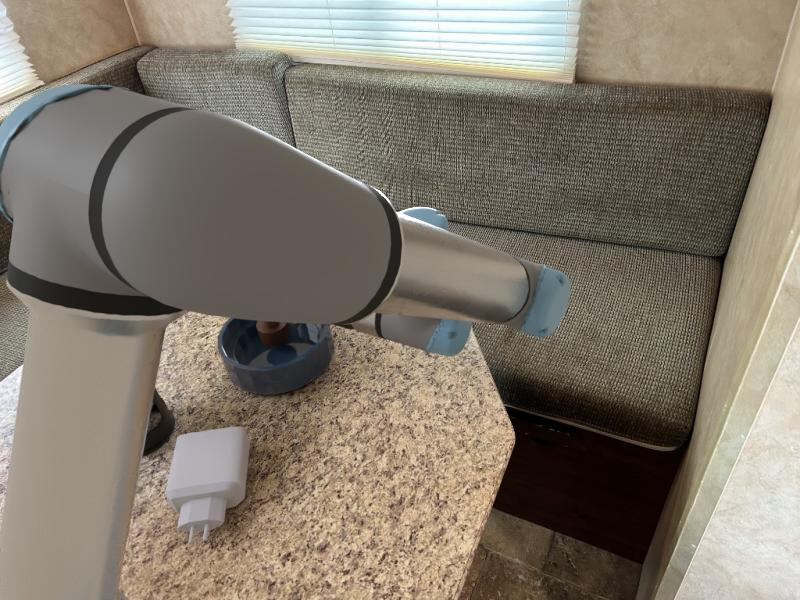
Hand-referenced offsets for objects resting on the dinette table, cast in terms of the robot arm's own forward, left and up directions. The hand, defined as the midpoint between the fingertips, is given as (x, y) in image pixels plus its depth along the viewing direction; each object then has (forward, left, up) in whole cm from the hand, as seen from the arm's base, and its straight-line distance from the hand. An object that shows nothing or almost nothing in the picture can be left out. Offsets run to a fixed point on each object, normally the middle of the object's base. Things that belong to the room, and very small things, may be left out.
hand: (229, 269), depth 93 cm
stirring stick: (+1, -5, -12) cm, 13 cm away
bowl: (0, -7, -15) cm, 17 cm away
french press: (-23, -2, -15) cm, 27 cm away
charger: (-22, -20, -15) cm, 34 cm away
